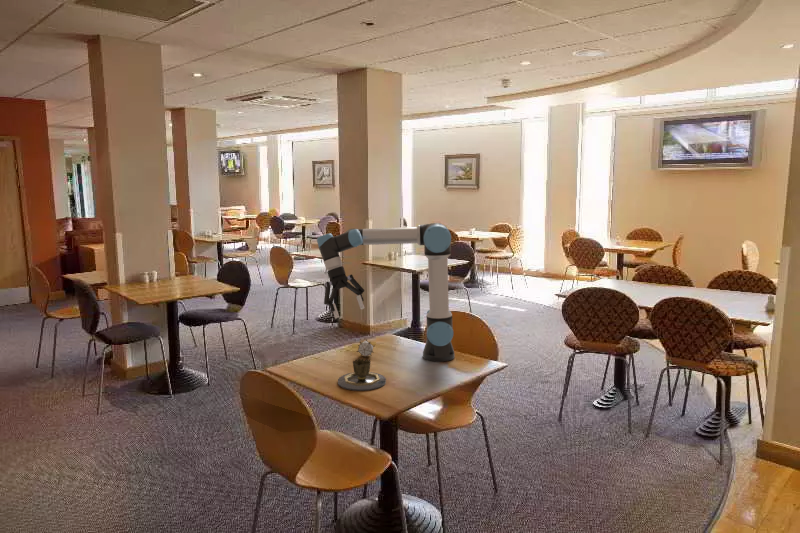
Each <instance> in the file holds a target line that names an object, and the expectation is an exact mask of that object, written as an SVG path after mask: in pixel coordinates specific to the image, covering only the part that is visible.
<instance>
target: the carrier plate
mask: <svg viewBox="0 0 800 533" xmlns="http://www.w3.org/2000/svg"><path fill="white" fill-rule="evenodd" d="M357 377H358V376H356V375H355V373H354V371H353V372H349V373H348V372H347V373H346V374H343V375H341V376H340V377H339V378H337V384H338V387H340V388H342V389H345V390H348V391H352V392H353V391H354V392H355V391H356V392H367V391H373V390H378V389H380V388H383V387H384V386H385V385H386V383H387V381H386V380H387V378H386V377H385V375H383V374H380V373H378V372H372V371H369V374H368V375H367V376H366V379H365V380H362V381H361V380H358V378H357Z"/></svg>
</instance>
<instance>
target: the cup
mask: <svg viewBox="0 0 800 533" xmlns="http://www.w3.org/2000/svg"><path fill="white" fill-rule="evenodd" d="M364 359H365V360H364ZM352 368H353V372H354V373H355V375H356V376H358V377H357V378H358V380H361V381H362V380H365V379H366V376H367V375H368V374H369V372H371V371H370V370H371V360H370V359H368V358H367V359H366V358H358V359H355V360H352Z"/></svg>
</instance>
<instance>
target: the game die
mask: <svg viewBox="0 0 800 533" xmlns="http://www.w3.org/2000/svg"><path fill="white" fill-rule="evenodd" d="M357 346H358V349H357V350H356V353H358V354H359V353H360V356H363V357H364V358H363V359H366V357H368V356H371V357H372V353H374V347H375V345H373V344H372V342H371V341H368V339H367V338H366V339H365V340H364V341H362V342H361V341H359V345H358V344H357Z"/></svg>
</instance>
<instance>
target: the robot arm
mask: <svg viewBox="0 0 800 533" xmlns="http://www.w3.org/2000/svg"><path fill="white" fill-rule="evenodd" d="M316 242H317V245H318V249H319V252H320V255H321V258H322V260H323V263H324V267H325V270H326V271H327V272H326V273H327V276H328V278H329V281H325V282H324V287H325V288H324V289H325V290H324V296H323V297H324V299H323V305H324V306H325V305H326V306H329V309H330V312H332V313H333V317H334V319H335V320H336V319H338V318H340V315H339V311H338V308H337V306H336V303H334V302H335V297H336V295H337V291H338V290H340V289H343V288H347V289H349V291H351V292H353V293H354V294H355V295H356V296H355V297H356V300H357V302H358V306H359V309H360V310H364V309H365V305H364V300H365V299H364V297H363V293H365V289H364V288H363V287H362V286H361V284H360V283H359V282H358V281H357V280H356V279H355V277H354V275H353V274H349V275H348V276H347V275H346V271H345V268H344V266H343V262H342V258H341V257H340V253H342V252H345V251H349V250H351V249H354V248H357V247H359V246H369V245H371V246H373V245H403V244H404V245H405V244H408V245H409V244H417V245H419V246H424V247H423V248H424V249H423V250H424V256H425V257H426V258H427V263H428V264H427V266H428V267H427V268H428V272H427V273H428V297H429V298H428V301H429V302H428V303H429V309H428V310H427V312H426V342H425V346H424V347H423V351H422V358H423V359H425V360H426V361H430V362H449V361H453V360H454V359H455V356H456V354H455V351H454V346H453V344H452V340H453V337H454V335H455V334H454V329H453V328H454V327H453V313H452V312H451V310H450V309H449V308H450V306H449V305H450V304H449V303H450V302H449V268H448V266H449V262H448V258H449V257H451V254H452V247H451V245H452V244H451V243H452V234H451V231H450V230H449V228H448V227H447V225H445V224H444V223H441V222H433V223H425V224H418V225H417V226H412V227H411V226H409V227H408V226H407V227H381V228H380V227H379V228H377V227H376V228H349V229H348V230H346V231H345V232H344V233H341V234H338V235H333V234H332V233H330V232H329V233H326V234H323V235H320V236H318V237H317V239H316ZM348 281H349V282H348ZM331 287H332V289H331Z"/></svg>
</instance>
